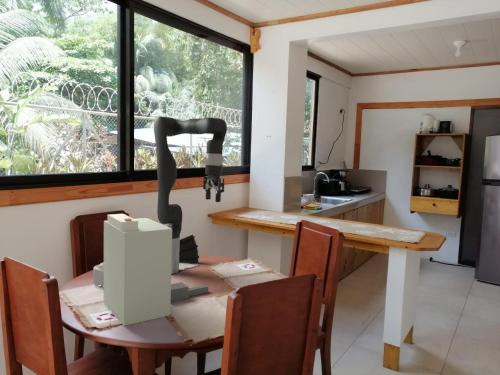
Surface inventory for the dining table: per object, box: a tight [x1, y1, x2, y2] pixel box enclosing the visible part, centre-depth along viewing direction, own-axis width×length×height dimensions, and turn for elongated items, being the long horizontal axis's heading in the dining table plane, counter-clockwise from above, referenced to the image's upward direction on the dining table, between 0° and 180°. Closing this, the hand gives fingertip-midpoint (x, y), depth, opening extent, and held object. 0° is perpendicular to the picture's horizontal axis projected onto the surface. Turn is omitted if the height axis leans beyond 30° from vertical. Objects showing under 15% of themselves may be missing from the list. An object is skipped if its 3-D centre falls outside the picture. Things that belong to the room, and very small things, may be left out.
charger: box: [171, 281, 209, 303], centre depth 162 cm, size 6×20×5 cm, turn 127°
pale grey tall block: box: [103, 213, 172, 327], centre depth 146 cm, size 24×17×36 cm
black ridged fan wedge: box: [179, 234, 200, 265], centre depth 209 cm, size 4×13×15 cm, turn 82°
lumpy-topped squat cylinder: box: [92, 261, 104, 286], centre depth 174 cm, size 10×13×9 cm
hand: (212, 200), depth 173 cm, fingers open, 8 cm apart
